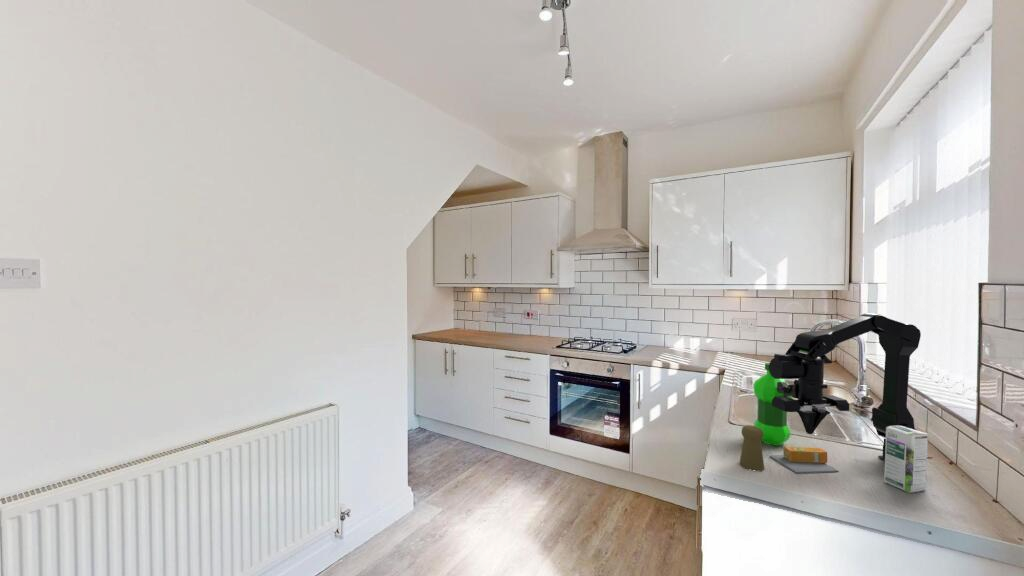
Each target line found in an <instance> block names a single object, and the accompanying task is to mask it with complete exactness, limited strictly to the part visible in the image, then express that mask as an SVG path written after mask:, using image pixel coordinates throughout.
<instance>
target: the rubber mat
mask: <svg viewBox="0 0 1024 576" xmlns="http://www.w3.org/2000/svg"><path fill="white" fill-rule="evenodd" d="M769 457H770V459H773V460H774V461H776V462H777V463H779V464H781V465H783V466H784V467H786V468H787V469H789V470H790V471H792V472H793V473H794V474H814V473H815V474H818V473H839V470H838V469H836V468H834V467H833V466H831V465H829V464H827V463H811V462H791V461H789V460H788V459H787V458H785V457H784V455H783V454H771V455H769Z"/></svg>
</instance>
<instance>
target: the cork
mask: <svg viewBox="0 0 1024 576" xmlns="http://www.w3.org/2000/svg"><path fill="white" fill-rule="evenodd" d="M741 435H742V437H743V438H742V439H743V440H742V445H741V446H742V447H741V453H740V458H739V463H740V464H739V466H741V467H742V468H744V467H745V468H744V469H746V468H747V469H746V470H749V469H751V470H750V471H753V470H755V471H754V472H762V470H763V471H764V470H765V463H764V462H765V461H764V456H763V455H764V454H763V449H762V448H763V447H762V438H763V431H762V430H761V429H760V428H758V427H756V426H754V425H751V424H749V425H744V426H742V428H741Z"/></svg>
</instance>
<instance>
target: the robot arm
mask: <svg viewBox="0 0 1024 576" xmlns="http://www.w3.org/2000/svg"><path fill="white" fill-rule="evenodd" d="M869 332H871V333H874V334H876V335H878V343H879V345H880V346H881V348H882V350H883V351H884V353H885V355H884V356H885V357H884V358H885V359H884V372H883V374H884V375H883V386H882V387H883V388H882V389H883V391H882V402H881V403H880V404H879V406H877V407H872V408H871V418H870V421H871V422H872V426H873V427H874V428H875V430H876V434H877V435H878V436H879V437H882V438H883V444H882V455H877V458H878V459H880V460H882V461H884V462H885V445H886V427H889V426H896V425H897V426H904V427H907V428H910V429H914V430H916V429H915V419H914V417H913V415H912V414H911V412H910V411H909V408H908V394H909V393H908V391H909V375H910V360H911V359H910V357H911V355H912V354H913V353H914V352H915V351H916V350H917V349H918V348H919V345H920V341H921V337H922V336H921V330H920V328H918V327H917V326H916V325H914V324H909V323H903V322H901V321H897V320H894V319H891V318H889V317H886V316H884V315H882V314H878V313H877V314H876V313H868V312H867V313H862V314H861V315H859V316H857V317H855V318H852V319H848V320H845V321H844V322H842V323H839V324H835V325H834V326H831V327H829V328H826V329H820V330H810V331H805V332H801V333H799V334H797V335H796V336H795V340H794V341H793V343H792V344H791V345H790V347H789V348H788V349H787V351H786V352H785V354H780V353H775V354H774V356H773V358H772V359H771V360H770V362H769V363H770V364H769V372H770V374H771V376H772V377H773V378H775V379H783V380H794V381H793V384H789V383H788V382H787V381H786V382H787V383H788V384H789V385H788V384H787V383H786V382H777V391H778V393H783V396H775V397H774V398H772V406H774V407H776V408H778V409H781V410H783V411H785V412H787V413H797V414H798V415H799V417H800V419H801V422H802V425H803V427H804V430H805V432H806V434H808V435H813V433H814V432H815V431H816V429H817V428H818V426H819V425H820V424H821V422H823V420H824V419H825V418H826V416H827V415H830V414H831V412H830V411H828V410H827V408H826V407H835V408H836V409H837V410H838V411H839V412H849V411H850V403H849V401H848V400H847V399H844V398H841V397H838V396H836V395H832V394H831V395H829V394H828V395H827V394H826V395H824V389H828V384H827V383H824V380H825V379H824V373H825V369H824V368H825V364H828V365H829V364H832V363H833V361H832V360H831V359H830V358H828V357H827V354H829V353H830V352H832V351H834V350H835V349H836V346H837V345H839V344H841V343H843V342H846V341H849V340H852V339H854V338H857V337H859V336H862V335H864V334H866V333H869ZM787 396H792V398H789V397H787Z"/></svg>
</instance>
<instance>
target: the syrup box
mask: <svg viewBox="0 0 1024 576" xmlns="http://www.w3.org/2000/svg"><path fill="white" fill-rule="evenodd" d="M885 439H886V445H885V461H884V475H883V476H884V477H883V482H884V483H885V484H888V485H891V486H892V487H895V488H898V489H900V490H903V491H904V492H907V493H908V494H912V493H919V492H923V491H927V465H928V441H929V434H928V433H927V432H923V431H919V430H917V429H915V430H914V429H910V428H907V427H904V426H897V425H896V426H889V427H886V438H885Z"/></svg>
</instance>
